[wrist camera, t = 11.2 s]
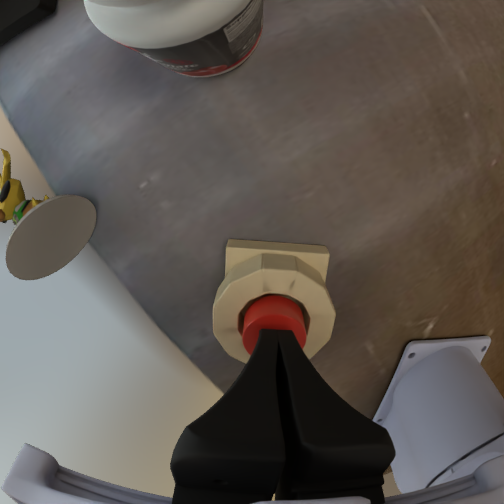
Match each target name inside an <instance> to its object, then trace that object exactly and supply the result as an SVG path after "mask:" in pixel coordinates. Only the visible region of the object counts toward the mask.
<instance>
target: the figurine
mask: <svg viewBox="0 0 504 504" xmlns="http://www.w3.org/2000/svg"><path fill="white" fill-rule="evenodd" d="M1 150H2V153H3V155H4V162H3V173H2V176H1V174H0V188H1V192H0V222H3V223H6V222H7V220H11V219H12V220H13V223H14V225H16V226H15V228H14V229H13V231H12V233H11V235H10V237H9V240H8V244H7V250H6V263H7V267H8V269H9V271H10V273H11V274H13V276H15V277H17V278H19V279H22V280H35V279H40V278H43V277H46V276H49V275H50V274H52V273H54V272H56V271H58V270H59V269H61V268H63V267H64V266H65V265H67V264H68V263H69V262H70V261H71V260H72V259H73V258H75V257H76V256H77V255H78V254H79V252H80V251H81V250H82V249H83V248H84V246H85V245H86V243H87V242H88V241H89V239H90V237H91V235H92V233H93V230H94V228H95V224H96V210H95V207H94V205H93V204H92V203H91V202H90V201H89V200H87V199H86V198H83V197H80V196H76V195H67V194H65V195H59V196H55V197H53V198H50V199H49V197H48V196H47V195H45V197H44V201H41V200H35V199H34V198H32V200H25V194H24V190H23V188H22V185H21V182H20V181H19V180H16V179H12V178H11V166H10V164H11V162H10V161H11V160H10V154H9V153H8V151H5V150H3V149H1Z"/></svg>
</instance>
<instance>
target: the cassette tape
mask: <svg viewBox="0 0 504 504" xmlns="http://www.w3.org/2000/svg"><path fill="white" fill-rule="evenodd" d="M55 7H56V0H0V46H1V45H2V44H4V43H5V42H7V41H8V40H10V39H11V38H13V37H14V36H16V35H17V34H19V33H20V32H22V31H23V30H25V29H27V28H28V27H30V26H32V25H33V24H35V23H37V22H38V21H40V20H42V19H43V18H45V17H47V16H49V15H51V14H52V13H53V12H54V10H55Z"/></svg>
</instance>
